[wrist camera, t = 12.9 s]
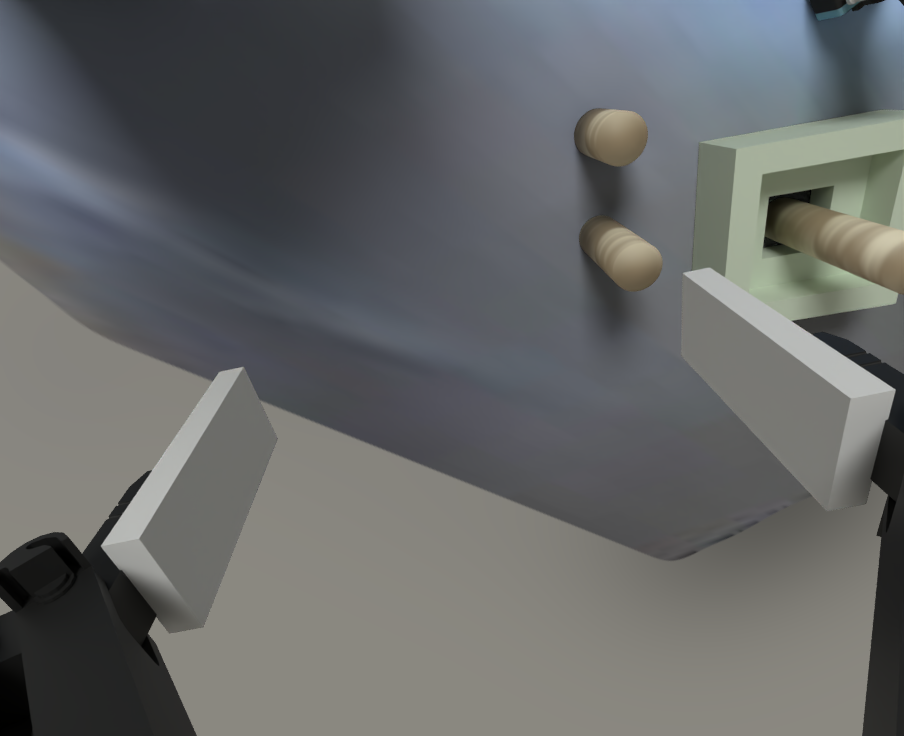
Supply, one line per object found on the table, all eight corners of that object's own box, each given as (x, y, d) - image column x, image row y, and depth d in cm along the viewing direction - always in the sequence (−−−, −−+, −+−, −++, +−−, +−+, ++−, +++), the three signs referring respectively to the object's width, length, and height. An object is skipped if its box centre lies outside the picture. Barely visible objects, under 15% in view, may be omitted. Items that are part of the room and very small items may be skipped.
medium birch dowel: (578, 219, 43) (612, 248, 35) (619, 212, 43) (663, 239, 35) (580, 259, 44) (613, 295, 36) (619, 252, 44) (661, 287, 36)
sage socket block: (699, 142, 40) (736, 149, 36) (882, 109, 40) (945, 111, 35) (689, 307, 47) (720, 332, 42) (846, 281, 46) (895, 303, 42)
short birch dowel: (572, 112, 39) (595, 116, 34) (617, 104, 39) (648, 106, 34) (575, 160, 41) (597, 170, 35) (618, 152, 41) (647, 161, 35)
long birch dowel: (760, 201, 43) (896, 245, 30) (802, 193, 43) (955, 235, 30) (756, 241, 44) (883, 299, 32) (796, 234, 44) (939, 289, 32)
